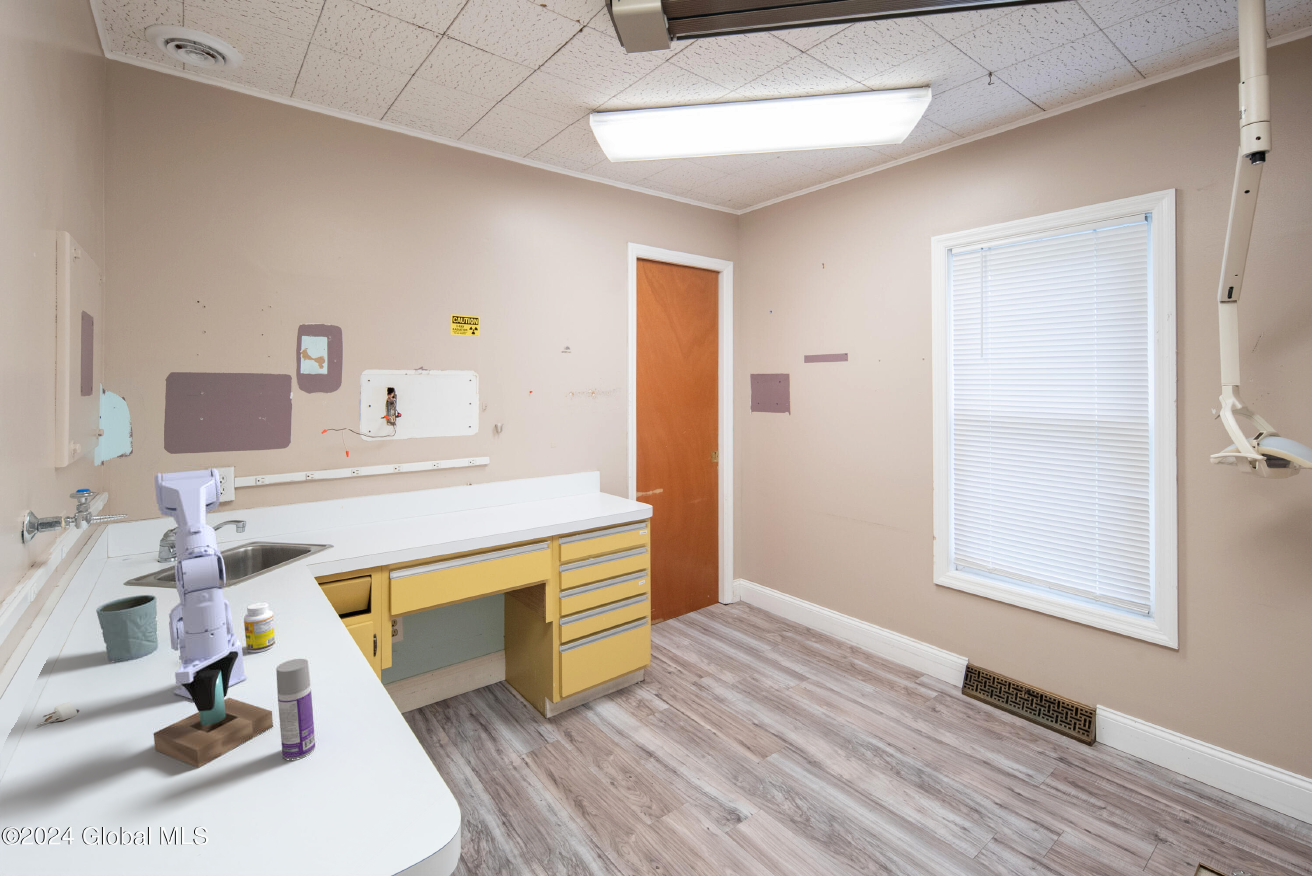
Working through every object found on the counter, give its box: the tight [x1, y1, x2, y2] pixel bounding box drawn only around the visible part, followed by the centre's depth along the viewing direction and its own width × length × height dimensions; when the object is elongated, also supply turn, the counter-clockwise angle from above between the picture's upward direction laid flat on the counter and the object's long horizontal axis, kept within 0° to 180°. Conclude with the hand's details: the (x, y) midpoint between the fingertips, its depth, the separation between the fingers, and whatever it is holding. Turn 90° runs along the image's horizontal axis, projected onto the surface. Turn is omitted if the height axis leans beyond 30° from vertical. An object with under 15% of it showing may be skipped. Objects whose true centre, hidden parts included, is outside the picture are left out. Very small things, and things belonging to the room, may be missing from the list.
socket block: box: [153, 697, 274, 768], centre depth 103 cm, size 12×12×3 cm
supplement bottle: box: [243, 602, 276, 654], centre depth 137 cm, size 6×6×10 cm
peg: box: [198, 671, 226, 725], centre depth 102 cm, size 4×4×8 cm
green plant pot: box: [96, 594, 159, 663], centre depth 136 cm, size 10×10×12 cm
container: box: [275, 658, 316, 761], centre depth 98 cm, size 5×5×15 cm
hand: (212, 703), depth 102 cm, fingers closed on peg, 3 cm apart
